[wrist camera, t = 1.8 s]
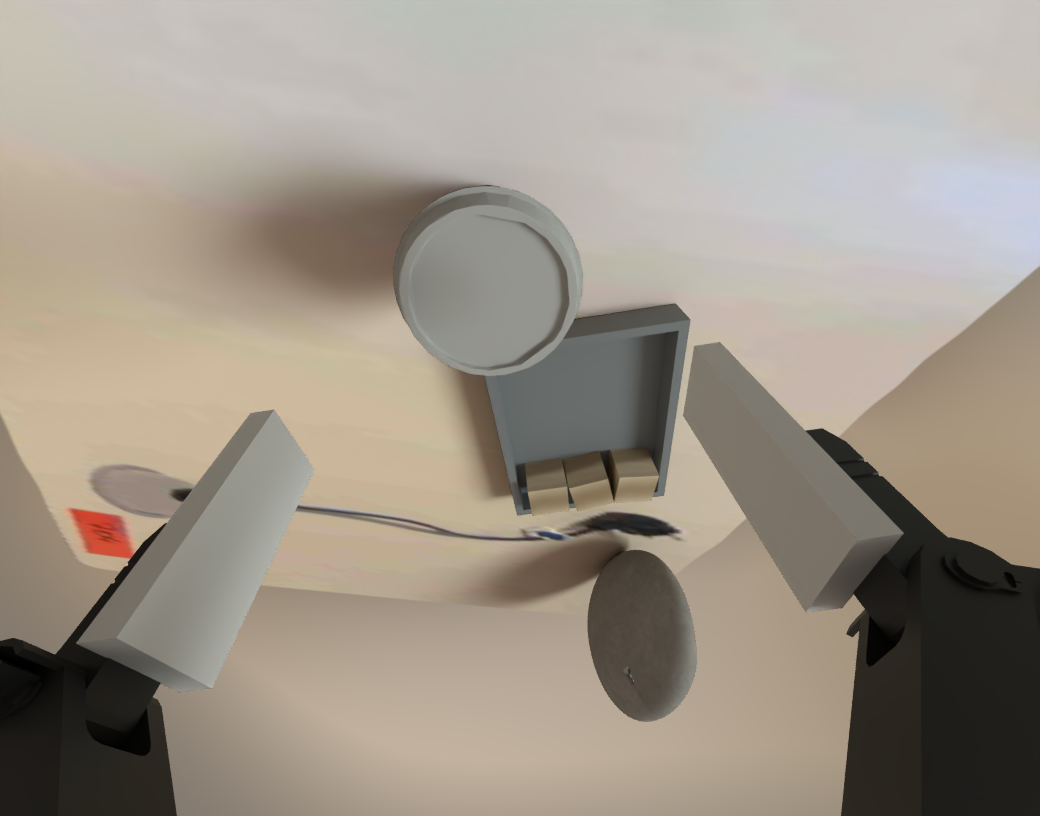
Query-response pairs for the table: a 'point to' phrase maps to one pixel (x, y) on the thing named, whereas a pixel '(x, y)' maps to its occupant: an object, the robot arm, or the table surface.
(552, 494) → the block
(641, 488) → the block
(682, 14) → the table surface
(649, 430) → the tray
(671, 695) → the dark grey disc
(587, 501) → the block
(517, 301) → the disposable coffee cup
